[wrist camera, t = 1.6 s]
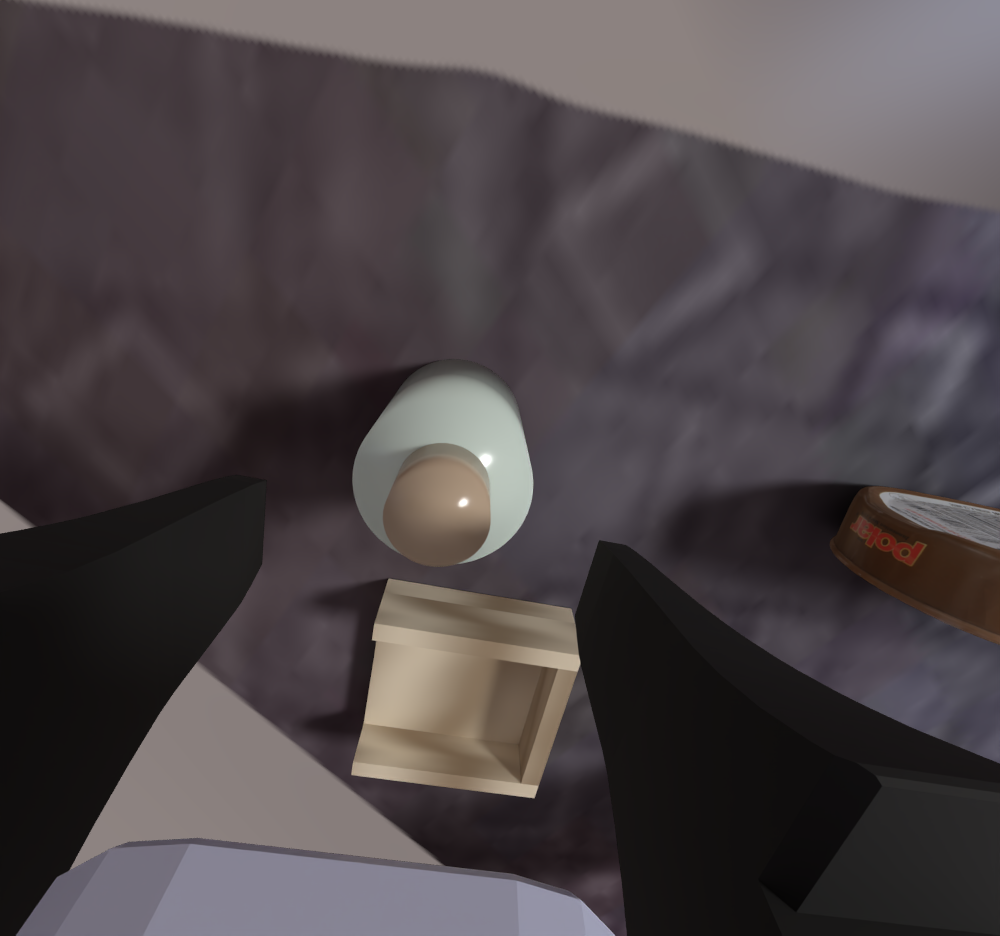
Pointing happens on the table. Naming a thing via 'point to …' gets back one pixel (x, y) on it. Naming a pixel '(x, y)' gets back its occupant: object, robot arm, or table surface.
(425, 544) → the bottle
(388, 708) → the wooden box
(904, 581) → the tin
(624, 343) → the table surface
